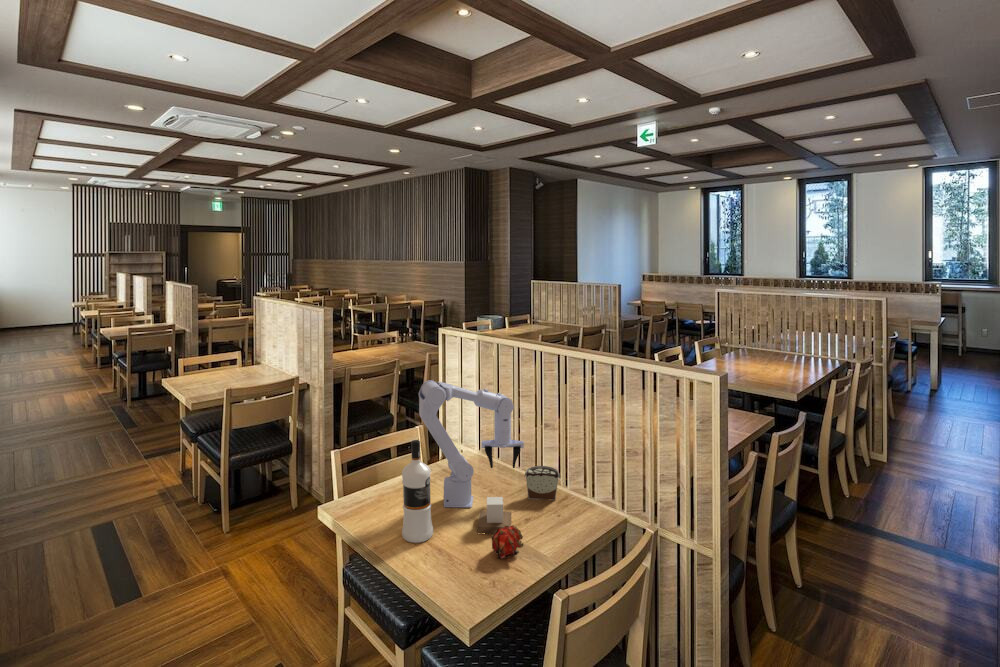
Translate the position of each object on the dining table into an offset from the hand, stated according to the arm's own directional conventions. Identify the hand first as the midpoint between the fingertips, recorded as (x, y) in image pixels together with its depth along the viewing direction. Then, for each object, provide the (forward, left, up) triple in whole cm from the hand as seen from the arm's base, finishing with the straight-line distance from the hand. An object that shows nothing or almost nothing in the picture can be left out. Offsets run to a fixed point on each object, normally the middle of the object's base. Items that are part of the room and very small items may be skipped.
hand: (502, 466), depth 188 cm
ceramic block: (-2, -21, -8) cm, 23 cm away
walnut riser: (-2, -22, -11) cm, 24 cm away
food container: (+14, 0, -11) cm, 17 cm away
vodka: (-25, -28, -11) cm, 39 cm away
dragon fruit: (+2, -37, -11) cm, 39 cm away
